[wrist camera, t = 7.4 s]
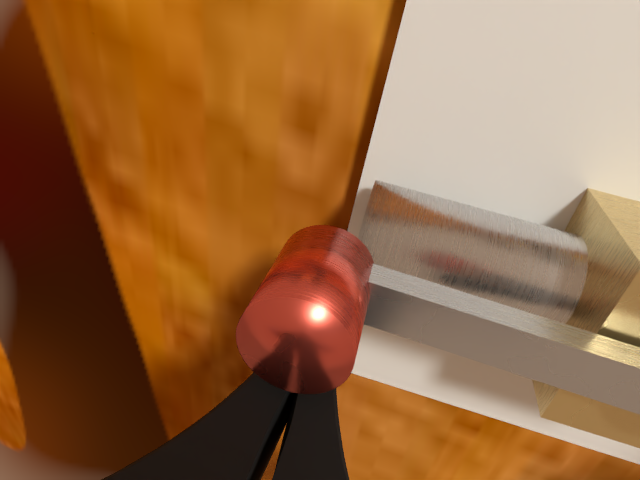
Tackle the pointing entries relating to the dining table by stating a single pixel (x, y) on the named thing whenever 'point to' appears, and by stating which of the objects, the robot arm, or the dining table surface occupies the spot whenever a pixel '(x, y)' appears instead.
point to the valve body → (525, 273)
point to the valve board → (503, 154)
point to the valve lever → (409, 325)
